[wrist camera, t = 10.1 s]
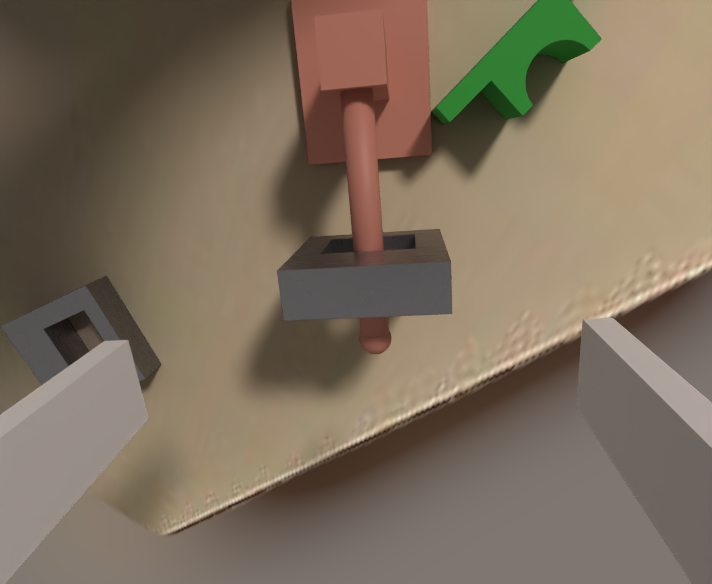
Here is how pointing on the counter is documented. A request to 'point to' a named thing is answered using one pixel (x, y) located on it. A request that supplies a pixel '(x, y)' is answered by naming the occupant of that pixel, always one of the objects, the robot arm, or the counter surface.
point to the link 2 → (367, 278)
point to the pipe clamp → (521, 59)
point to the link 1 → (61, 342)
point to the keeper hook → (364, 103)
